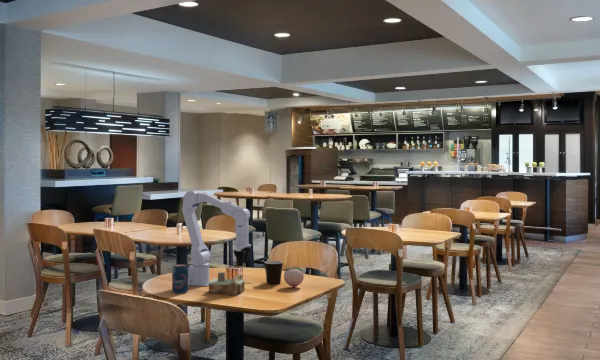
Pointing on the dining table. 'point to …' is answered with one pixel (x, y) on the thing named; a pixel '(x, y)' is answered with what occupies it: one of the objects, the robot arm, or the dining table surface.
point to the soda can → (180, 278)
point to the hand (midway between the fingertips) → (242, 264)
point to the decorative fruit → (293, 276)
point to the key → (237, 278)
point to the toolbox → (227, 289)
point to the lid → (224, 280)
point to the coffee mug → (273, 272)
